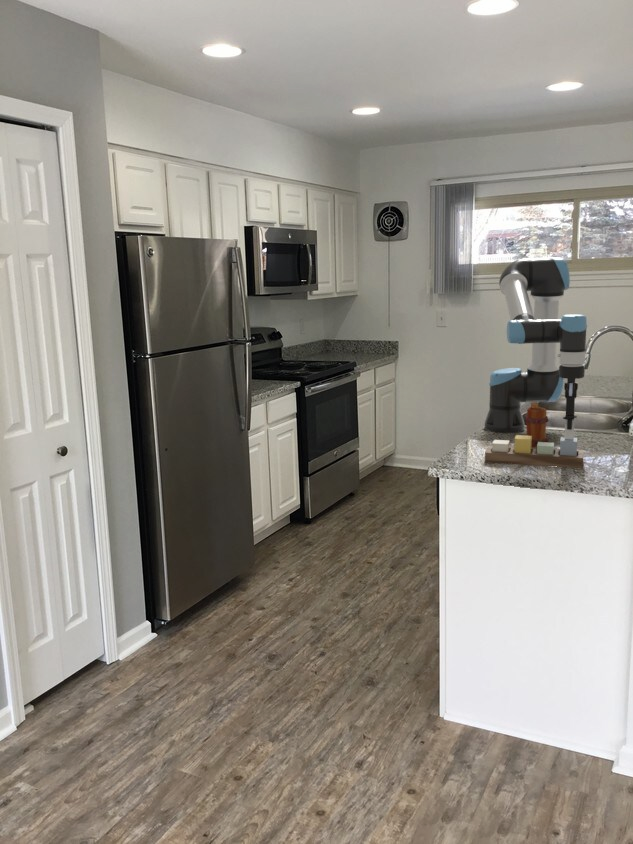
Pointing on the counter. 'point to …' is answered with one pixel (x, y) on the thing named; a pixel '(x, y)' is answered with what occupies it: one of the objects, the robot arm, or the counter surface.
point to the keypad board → (534, 458)
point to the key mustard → (523, 444)
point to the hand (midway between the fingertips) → (569, 438)
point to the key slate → (568, 446)
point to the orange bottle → (536, 424)
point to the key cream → (501, 445)
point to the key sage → (545, 448)
